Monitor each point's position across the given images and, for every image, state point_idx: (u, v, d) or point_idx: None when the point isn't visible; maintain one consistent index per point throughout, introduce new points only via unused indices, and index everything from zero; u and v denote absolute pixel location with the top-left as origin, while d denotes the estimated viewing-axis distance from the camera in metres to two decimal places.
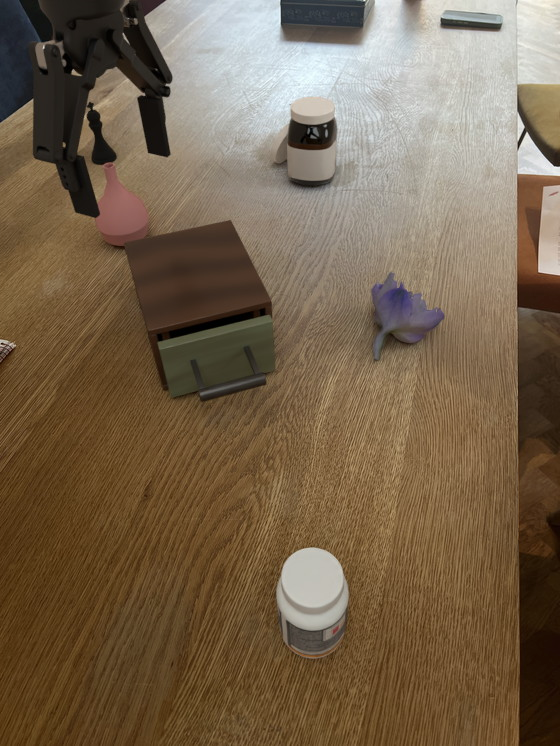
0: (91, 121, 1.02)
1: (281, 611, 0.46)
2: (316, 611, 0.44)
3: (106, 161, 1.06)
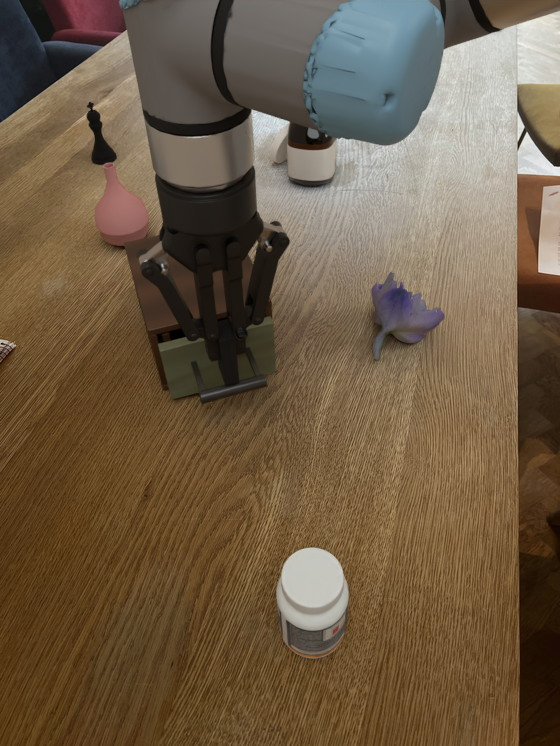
0: (91, 121, 1.02)
1: (281, 611, 0.46)
2: (316, 611, 0.44)
3: (106, 161, 1.06)
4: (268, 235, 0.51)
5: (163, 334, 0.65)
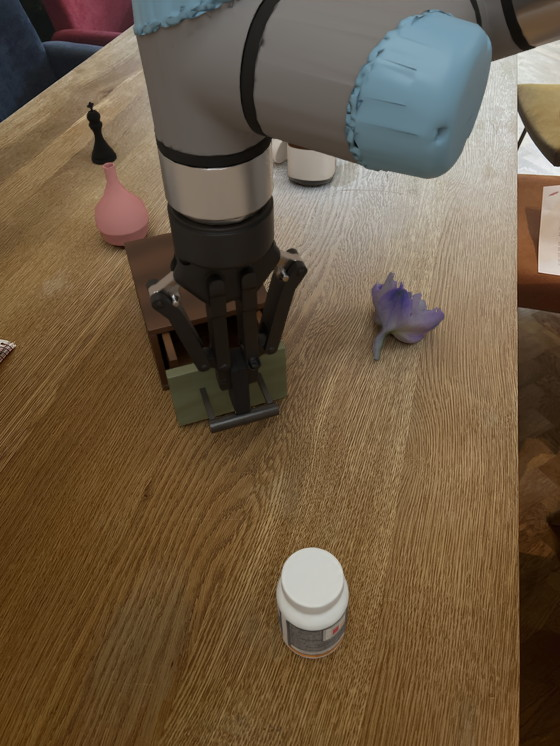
0: (91, 121, 1.02)
1: (281, 611, 0.46)
2: (316, 611, 0.44)
3: (106, 161, 1.06)
4: (285, 264, 0.49)
5: (171, 360, 0.62)
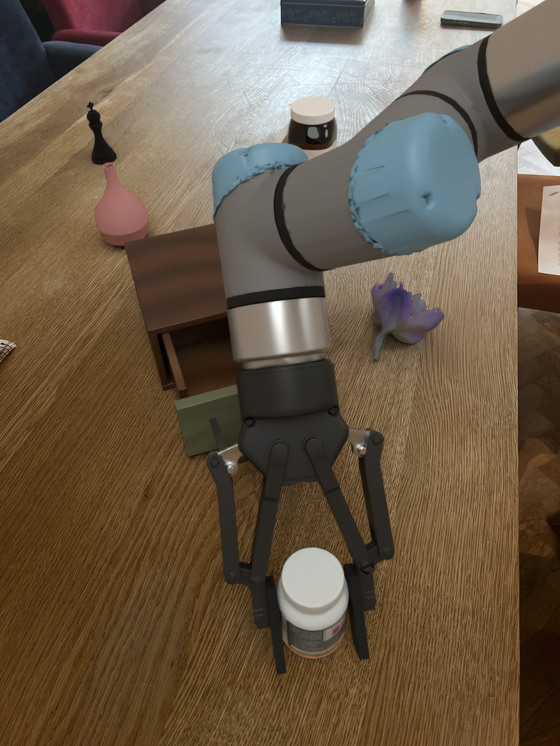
0: (91, 121, 1.02)
1: (281, 611, 0.46)
2: (316, 611, 0.44)
3: (106, 161, 1.06)
4: (358, 438, 0.47)
5: (180, 389, 0.60)
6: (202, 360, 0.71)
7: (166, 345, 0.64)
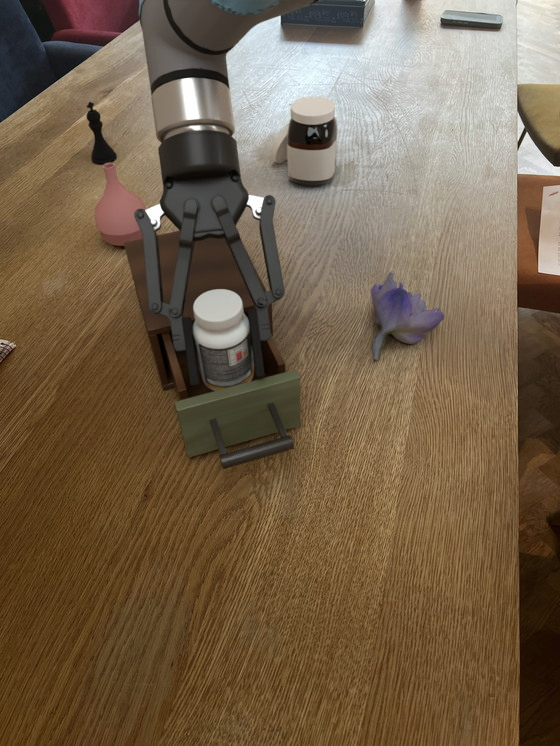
0: (91, 121, 1.02)
1: (195, 338, 0.59)
2: (219, 327, 0.56)
3: (106, 161, 1.06)
4: (256, 202, 0.59)
5: (180, 390, 0.60)
6: None
7: (166, 346, 0.64)
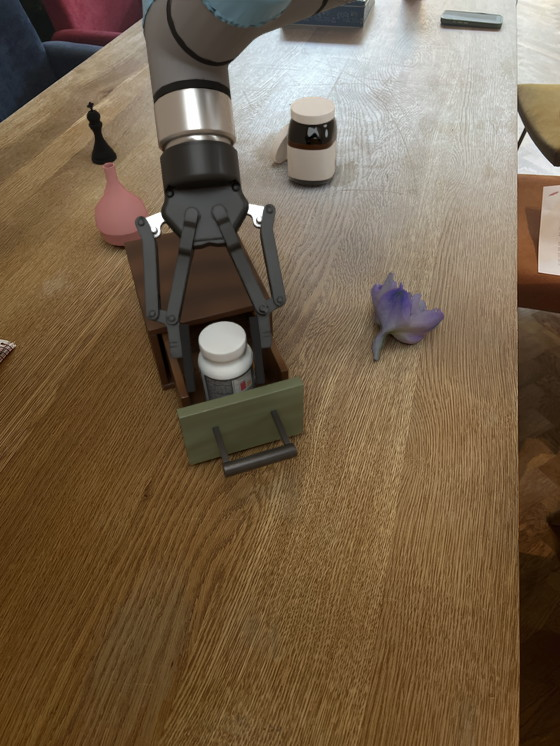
0: (91, 121, 1.02)
1: (200, 369, 0.61)
2: (223, 359, 0.58)
3: (106, 161, 1.06)
4: (257, 211, 0.59)
5: (182, 397, 0.59)
6: None
7: (168, 352, 0.63)
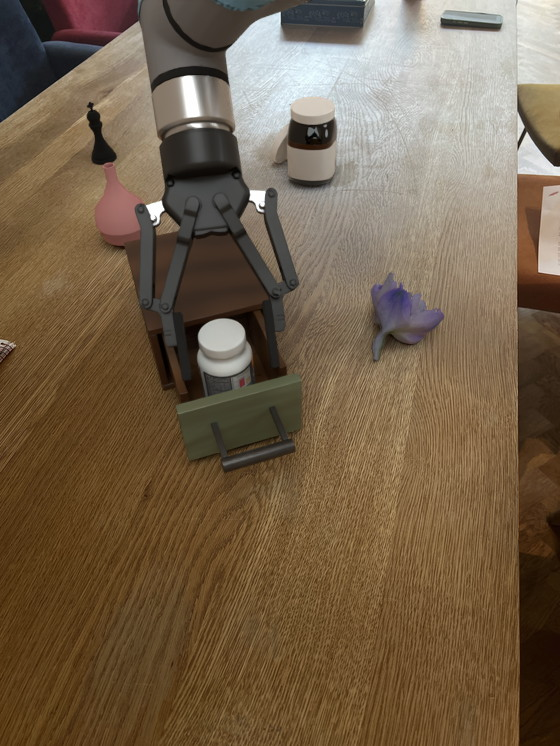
0: (91, 121, 1.02)
1: (199, 366, 0.61)
2: (222, 356, 0.59)
3: (106, 161, 1.06)
4: (259, 197, 0.59)
5: (181, 393, 0.59)
6: None
7: (167, 349, 0.63)
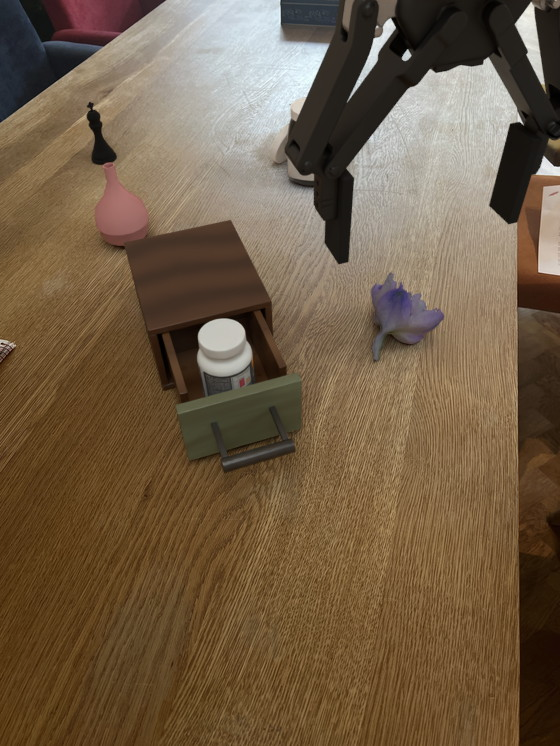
0: (91, 121, 1.02)
1: (199, 366, 0.61)
2: (222, 356, 0.59)
3: (106, 161, 1.06)
4: None
5: (181, 393, 0.59)
6: None
7: (167, 349, 0.63)
